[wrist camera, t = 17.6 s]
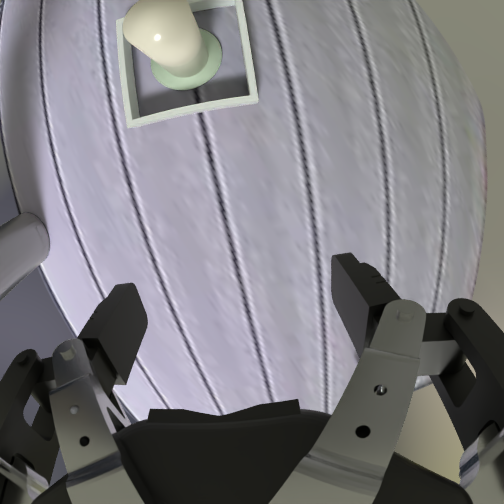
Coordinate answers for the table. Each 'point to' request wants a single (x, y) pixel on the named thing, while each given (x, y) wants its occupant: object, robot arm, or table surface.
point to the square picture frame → (197, 3)
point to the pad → (199, 78)
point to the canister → (167, 35)
